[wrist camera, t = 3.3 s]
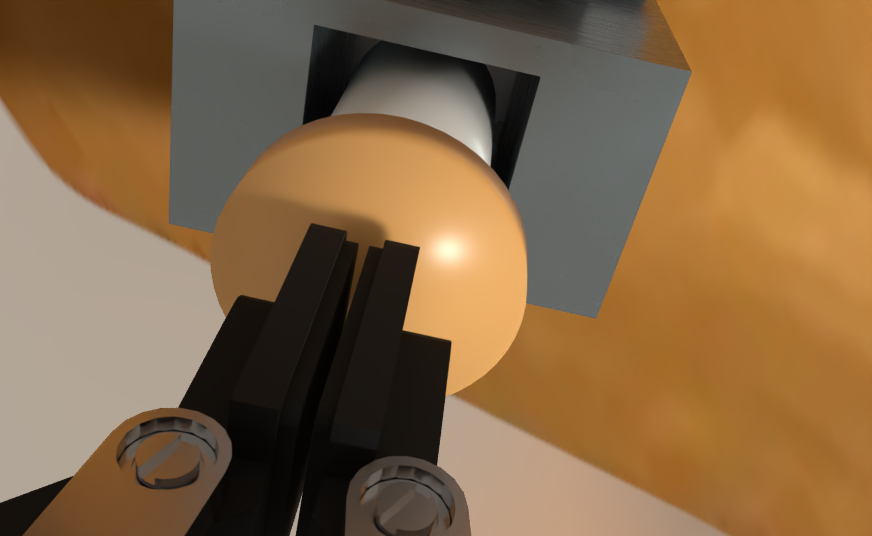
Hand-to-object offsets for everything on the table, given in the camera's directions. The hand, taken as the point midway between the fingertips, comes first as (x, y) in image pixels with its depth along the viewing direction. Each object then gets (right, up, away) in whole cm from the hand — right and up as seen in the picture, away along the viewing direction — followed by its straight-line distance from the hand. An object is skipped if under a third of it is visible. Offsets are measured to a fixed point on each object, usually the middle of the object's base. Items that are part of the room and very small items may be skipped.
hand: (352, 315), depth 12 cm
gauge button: (+1, +5, +7) cm, 9 cm away
